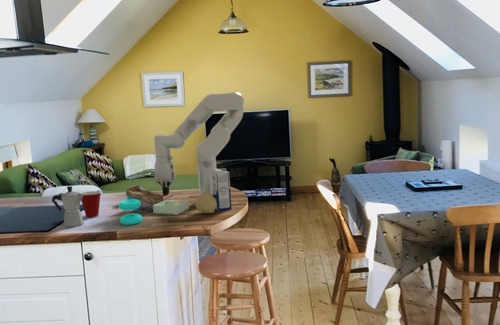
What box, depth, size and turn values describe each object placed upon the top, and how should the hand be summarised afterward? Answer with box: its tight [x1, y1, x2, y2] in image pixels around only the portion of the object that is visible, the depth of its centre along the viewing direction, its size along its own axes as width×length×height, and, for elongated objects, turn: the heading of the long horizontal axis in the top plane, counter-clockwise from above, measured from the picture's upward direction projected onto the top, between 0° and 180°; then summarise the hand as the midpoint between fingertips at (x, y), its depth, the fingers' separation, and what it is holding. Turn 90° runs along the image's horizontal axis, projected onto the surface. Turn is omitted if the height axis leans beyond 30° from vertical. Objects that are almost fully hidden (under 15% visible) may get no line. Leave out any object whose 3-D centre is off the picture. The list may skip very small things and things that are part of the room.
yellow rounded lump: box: [195, 192, 217, 214], centre depth 236 cm, size 10×12×11 cm
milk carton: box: [211, 167, 233, 212], centre depth 243 cm, size 7×7×20 cm
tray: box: [152, 199, 190, 216], centre depth 245 cm, size 13×11×4 cm
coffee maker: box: [51, 185, 85, 229], centre depth 229 cm, size 15×9×18 cm, turn 92°
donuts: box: [117, 199, 143, 226], centre depth 228 cm, size 10×10×10 cm
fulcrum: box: [131, 201, 153, 214], centre depth 251 cm, size 8×12×5 cm, turn 155°
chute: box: [125, 183, 174, 205], centre depth 254 cm, size 16×18×4 cm
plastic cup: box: [79, 190, 103, 218], centre depth 244 cm, size 11×11×12 cm
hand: (166, 194), depth 257 cm, fingers closed
